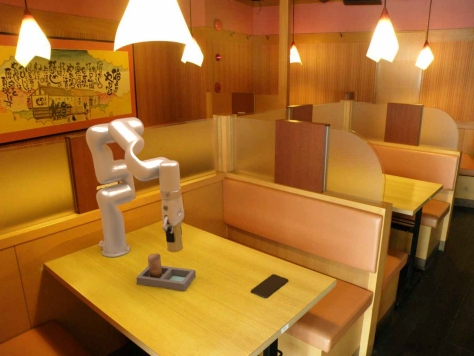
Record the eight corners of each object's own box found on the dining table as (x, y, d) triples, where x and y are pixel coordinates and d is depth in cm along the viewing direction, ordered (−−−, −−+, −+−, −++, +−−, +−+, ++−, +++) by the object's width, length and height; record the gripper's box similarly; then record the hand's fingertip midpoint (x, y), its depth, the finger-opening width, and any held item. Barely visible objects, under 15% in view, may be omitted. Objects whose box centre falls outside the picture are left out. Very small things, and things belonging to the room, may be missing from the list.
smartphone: (266, 300, 139) (289, 281, 151) (266, 298, 139) (289, 279, 151) (249, 293, 144) (272, 275, 156) (249, 290, 144) (272, 273, 156)
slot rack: (136, 284, 151) (136, 277, 151) (150, 270, 161) (149, 264, 161) (184, 291, 146) (184, 284, 145) (195, 276, 156) (195, 270, 155)
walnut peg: (147, 281, 153) (145, 258, 151) (153, 275, 158) (151, 253, 155) (158, 282, 152) (156, 260, 149) (164, 276, 156) (162, 254, 154)
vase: (179, 253, 145) (177, 217, 141) (164, 252, 146) (161, 217, 142) (185, 246, 151) (182, 212, 147) (170, 245, 152) (167, 211, 148)
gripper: (169, 201, 133) (173, 249, 138) (189, 187, 149) (192, 230, 154) (150, 200, 135) (154, 247, 140) (171, 186, 151) (175, 229, 156)
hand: (174, 238), depth 147 cm, fingers closed on vase, 5 cm apart
